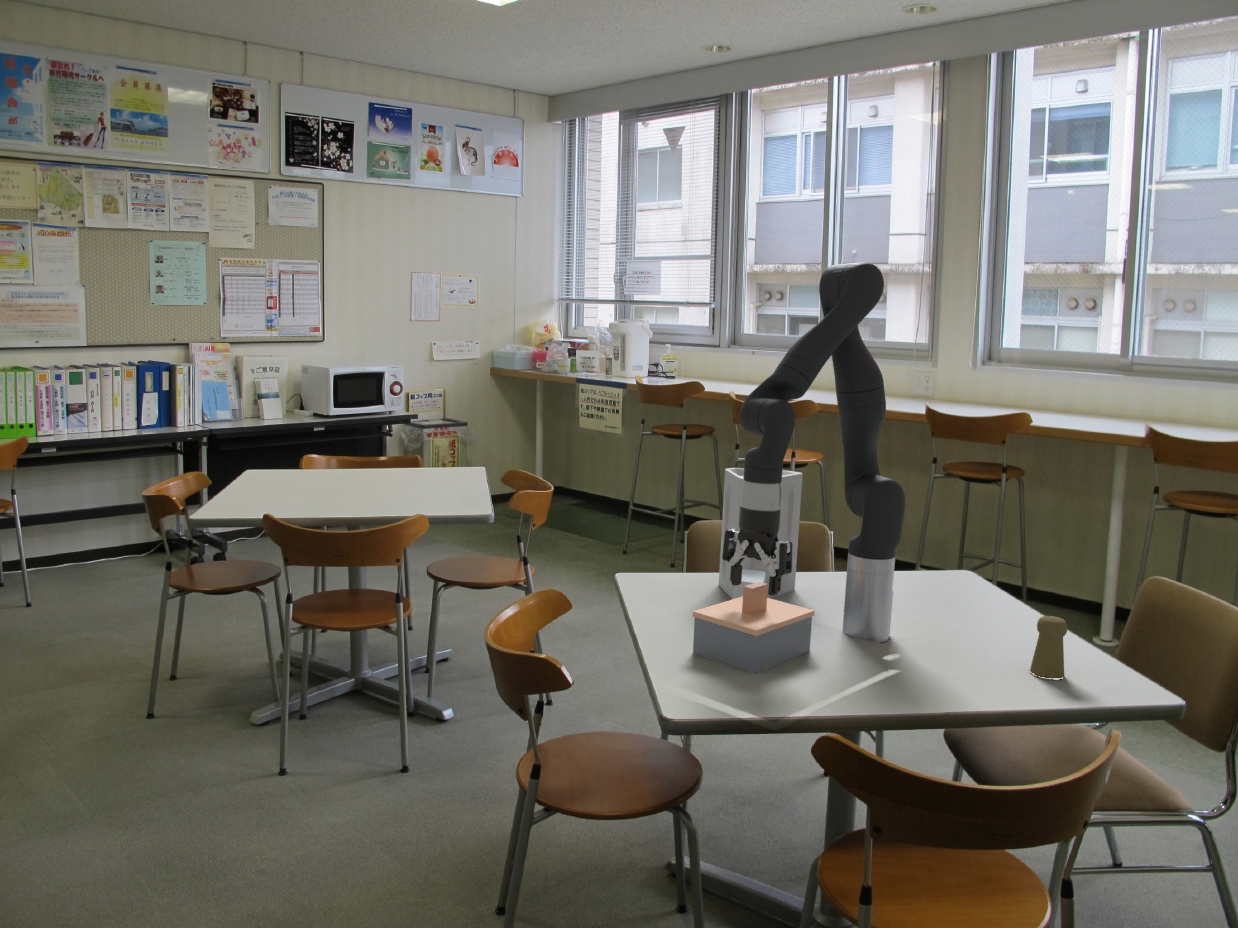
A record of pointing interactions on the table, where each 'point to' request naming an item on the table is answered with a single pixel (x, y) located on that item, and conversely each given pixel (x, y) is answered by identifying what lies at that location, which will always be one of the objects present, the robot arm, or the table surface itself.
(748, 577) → the skincare box
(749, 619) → the lid
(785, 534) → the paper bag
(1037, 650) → the cork
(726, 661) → the tub
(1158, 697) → the table surface
